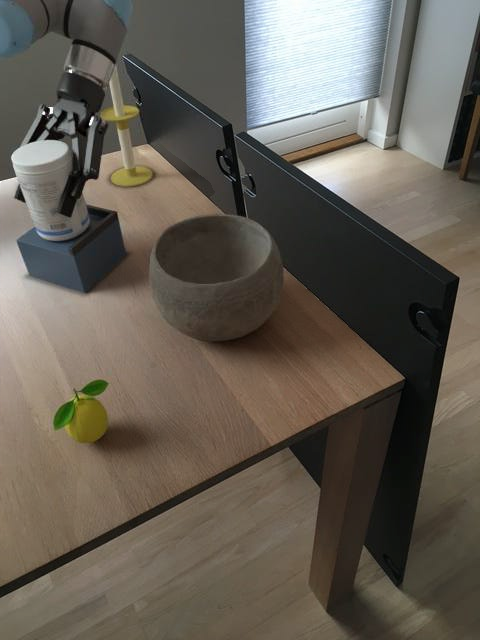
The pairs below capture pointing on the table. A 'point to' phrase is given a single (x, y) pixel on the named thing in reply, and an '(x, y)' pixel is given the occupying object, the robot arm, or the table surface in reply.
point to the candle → (124, 138)
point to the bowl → (216, 276)
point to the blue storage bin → (76, 252)
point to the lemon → (84, 414)
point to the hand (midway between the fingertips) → (42, 208)
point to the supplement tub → (49, 188)
